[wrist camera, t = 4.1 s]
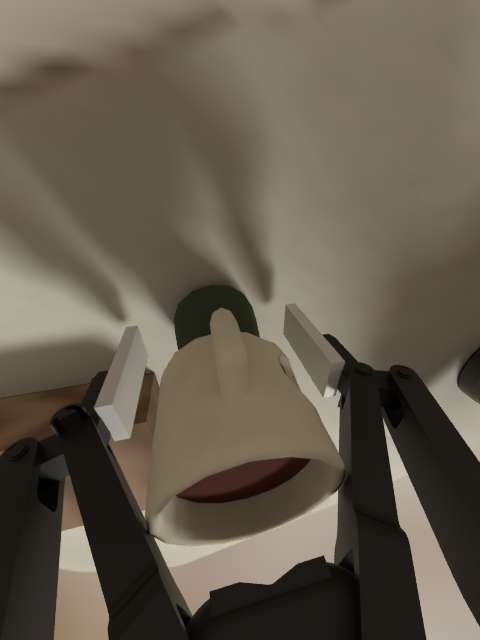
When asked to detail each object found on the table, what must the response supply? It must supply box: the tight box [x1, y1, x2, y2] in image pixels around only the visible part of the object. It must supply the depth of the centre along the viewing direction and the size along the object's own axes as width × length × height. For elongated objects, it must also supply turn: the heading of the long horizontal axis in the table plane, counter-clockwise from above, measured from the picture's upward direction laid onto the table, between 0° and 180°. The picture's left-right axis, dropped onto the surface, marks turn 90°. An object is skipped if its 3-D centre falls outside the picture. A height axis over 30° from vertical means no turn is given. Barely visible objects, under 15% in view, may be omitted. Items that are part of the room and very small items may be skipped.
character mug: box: [145, 285, 346, 546], centre depth 13 cm, size 11×7×13 cm, turn 3°
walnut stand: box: [0, 373, 160, 531], centre depth 21 cm, size 14×14×5 cm
